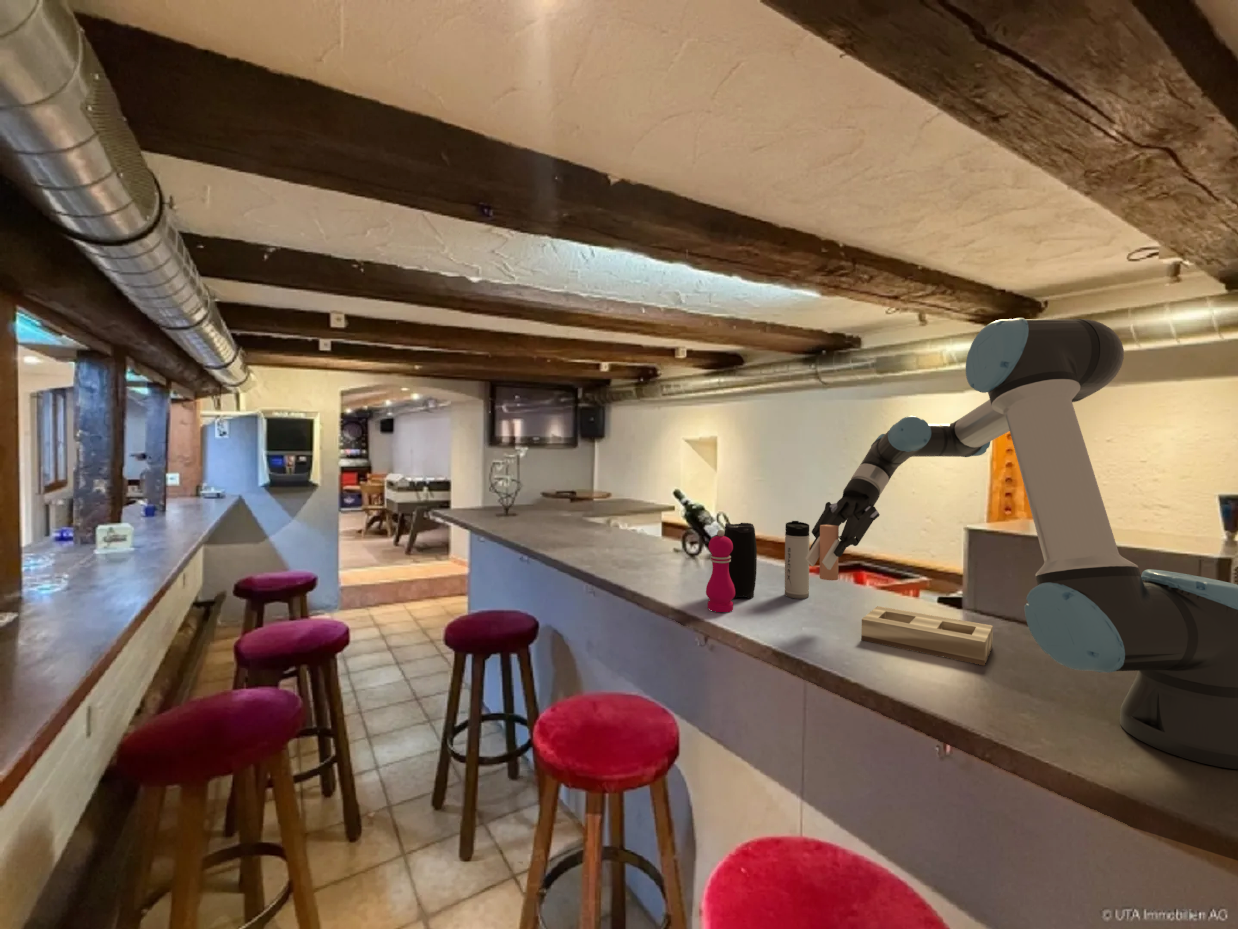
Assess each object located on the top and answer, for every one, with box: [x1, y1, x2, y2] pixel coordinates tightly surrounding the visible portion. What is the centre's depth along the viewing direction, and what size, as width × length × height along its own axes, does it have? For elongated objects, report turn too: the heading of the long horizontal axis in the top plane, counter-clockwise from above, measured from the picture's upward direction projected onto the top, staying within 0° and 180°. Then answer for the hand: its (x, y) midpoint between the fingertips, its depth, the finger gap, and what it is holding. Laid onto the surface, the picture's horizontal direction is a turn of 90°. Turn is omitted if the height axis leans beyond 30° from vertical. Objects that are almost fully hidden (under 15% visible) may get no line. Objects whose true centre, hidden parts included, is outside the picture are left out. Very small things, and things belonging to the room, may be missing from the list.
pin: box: [819, 525, 840, 581], centre depth 130 cm, size 4×4×12 cm
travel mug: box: [784, 520, 810, 600], centre depth 154 cm, size 6×7×20 cm
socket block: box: [860, 605, 994, 666], centre depth 118 cm, size 12×22×4 cm, turn 51°
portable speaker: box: [724, 522, 758, 600], centre depth 154 cm, size 9×9×20 cm
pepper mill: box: [705, 529, 735, 613], centre depth 142 cm, size 7×7×20 cm
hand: (817, 563), depth 128 cm, fingers closed on pin, 4 cm apart
